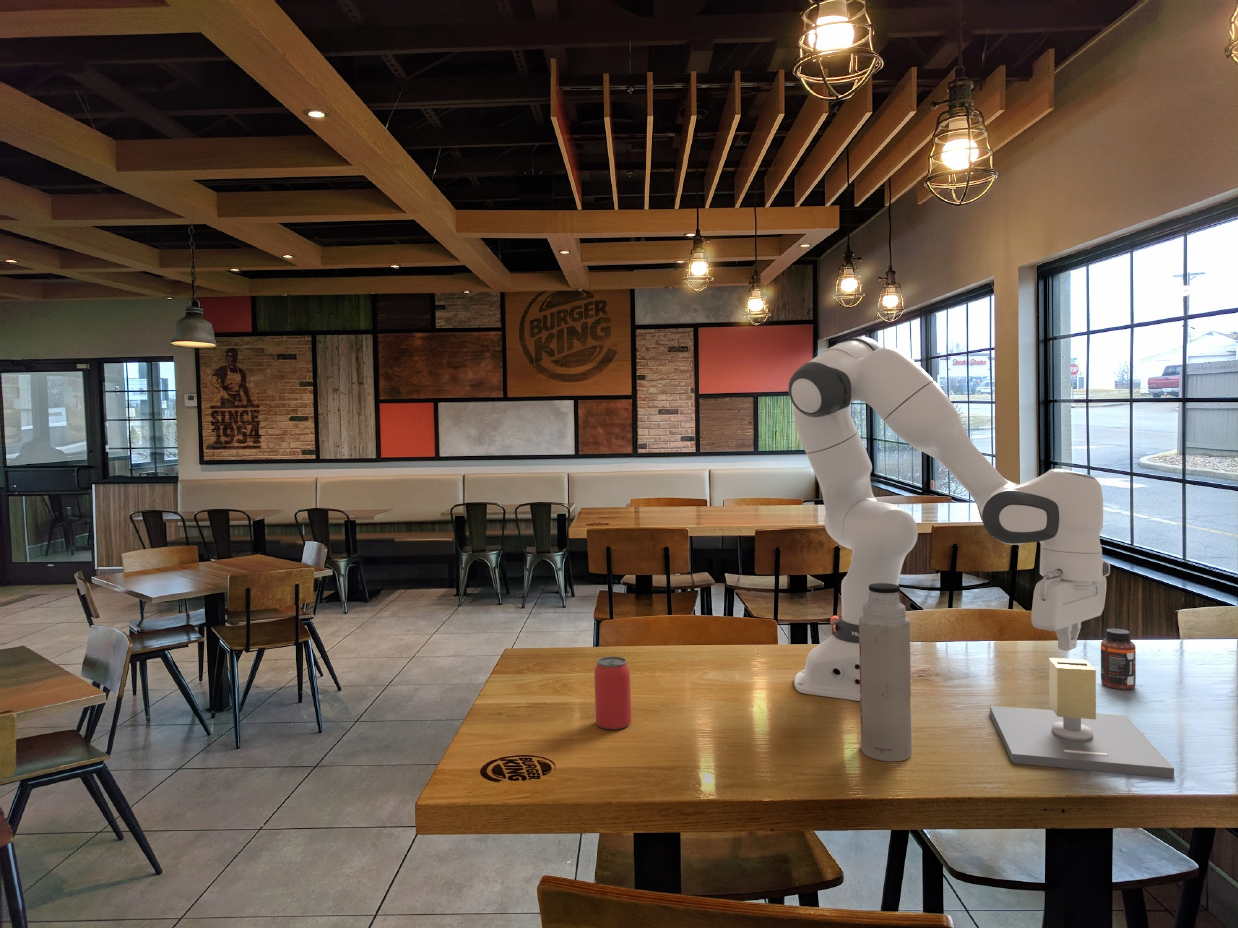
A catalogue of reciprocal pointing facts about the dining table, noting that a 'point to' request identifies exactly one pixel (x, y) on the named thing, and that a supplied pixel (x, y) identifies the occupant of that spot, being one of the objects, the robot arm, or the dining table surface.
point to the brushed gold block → (1072, 688)
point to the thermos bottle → (885, 675)
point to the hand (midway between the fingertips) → (1067, 648)
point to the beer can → (612, 693)
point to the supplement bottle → (1118, 660)
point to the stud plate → (1078, 742)
